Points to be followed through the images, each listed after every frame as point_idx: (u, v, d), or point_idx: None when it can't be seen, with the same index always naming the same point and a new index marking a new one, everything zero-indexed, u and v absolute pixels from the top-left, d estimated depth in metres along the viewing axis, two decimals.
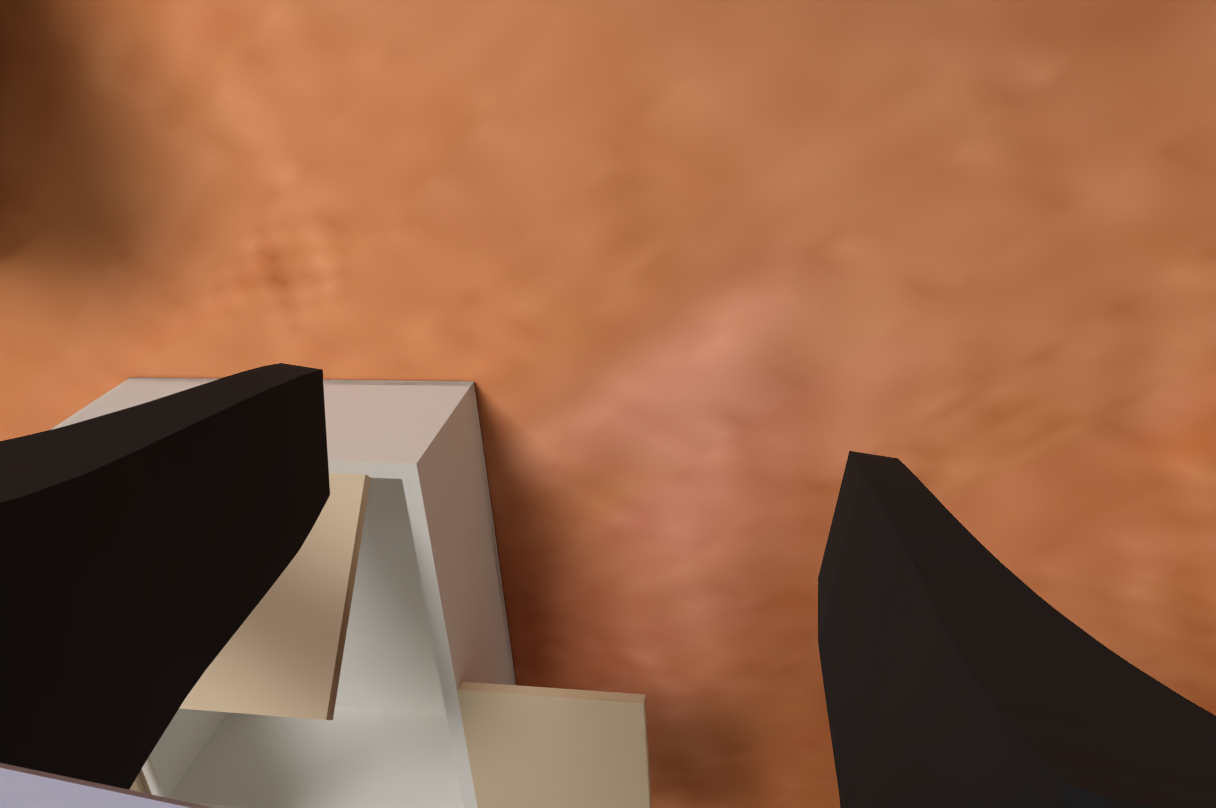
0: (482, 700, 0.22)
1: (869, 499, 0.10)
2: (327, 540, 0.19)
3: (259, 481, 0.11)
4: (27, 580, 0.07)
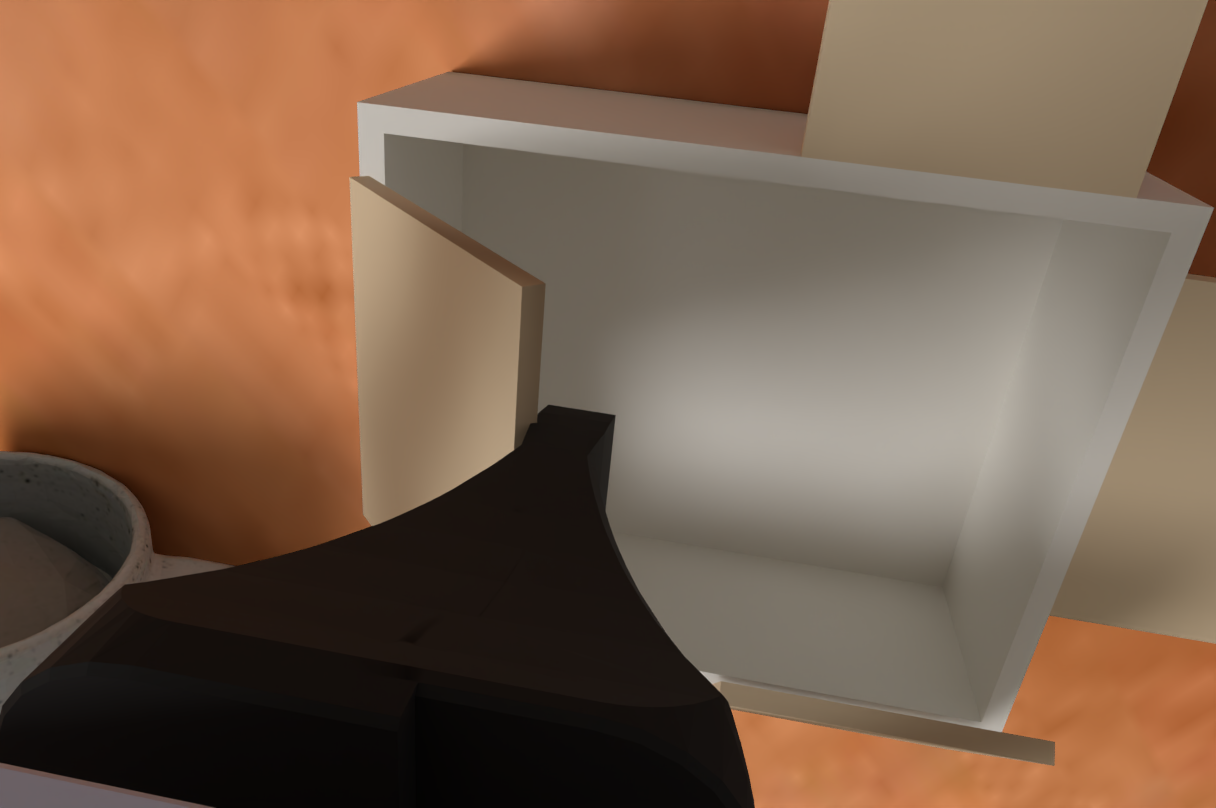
0: (830, 112, 0.12)
1: None
2: (390, 245, 0.12)
3: None
4: None
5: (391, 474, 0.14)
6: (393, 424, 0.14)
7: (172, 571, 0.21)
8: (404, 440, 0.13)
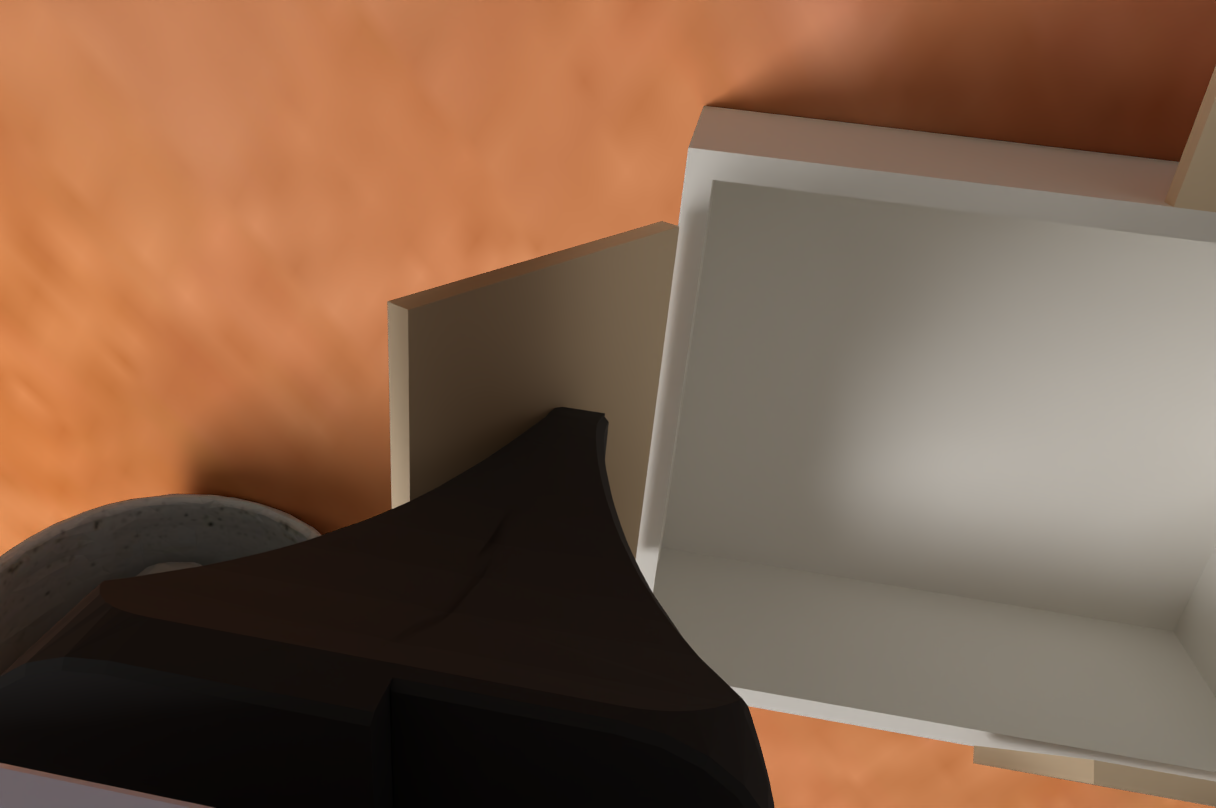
0: (1214, 161, 0.12)
1: None
2: None
3: None
4: None
5: None
6: None
7: None
8: None
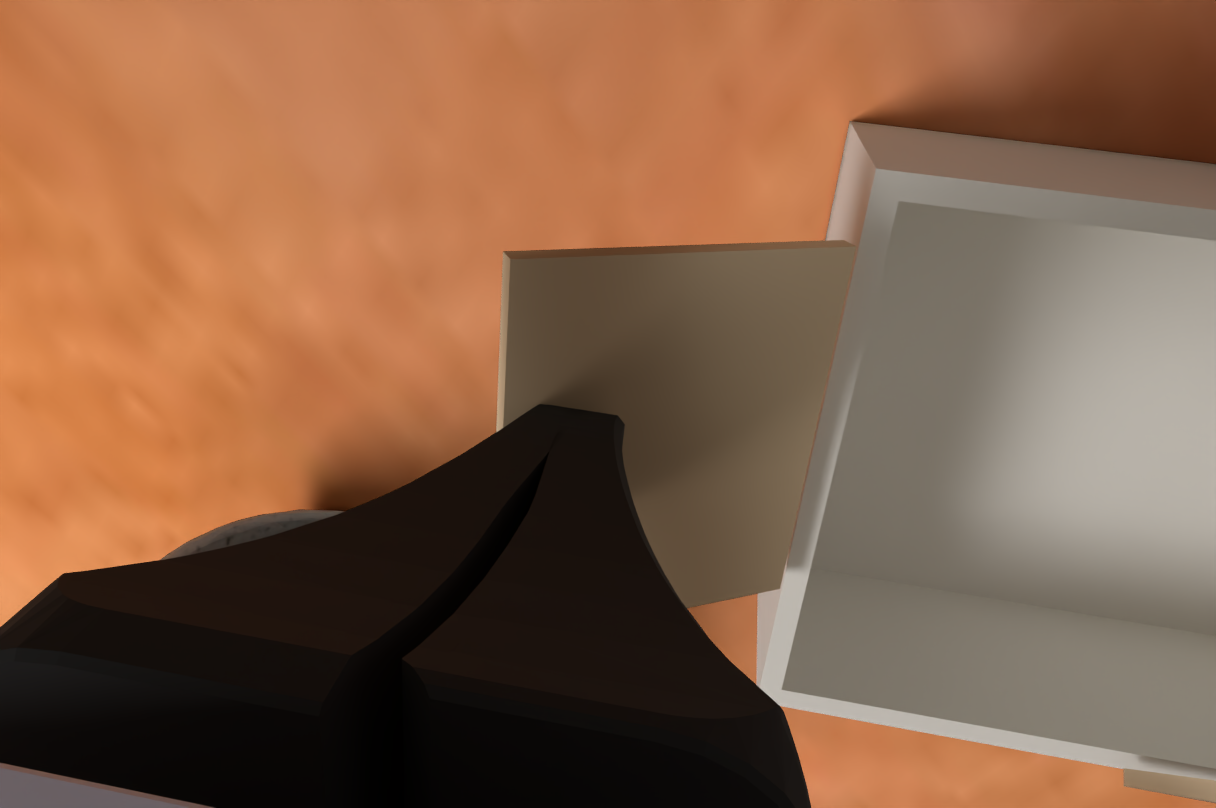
0: None
1: None
2: None
3: None
4: None
5: None
6: None
7: None
8: None
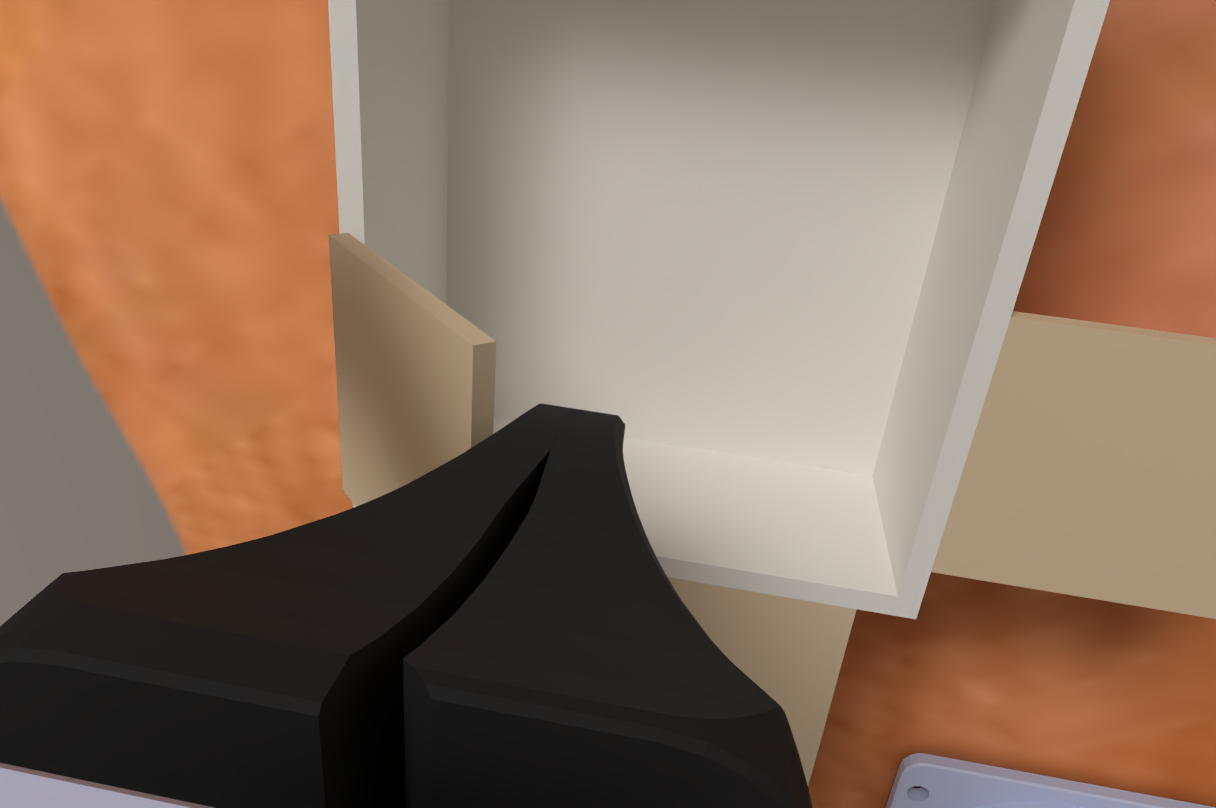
0: (1051, 341, 0.13)
1: None
2: None
3: None
4: None
5: None
6: None
7: None
8: None
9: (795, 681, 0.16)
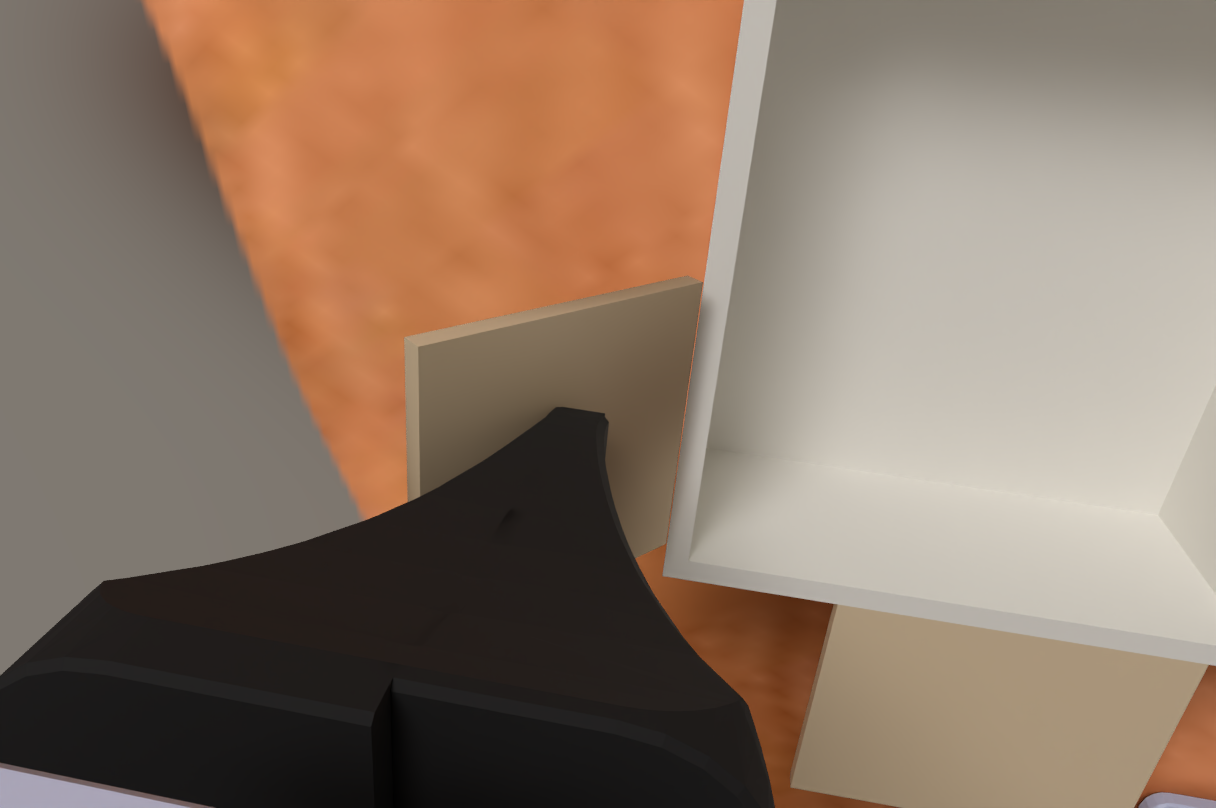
0: None
1: None
2: None
3: None
4: None
5: None
6: None
7: None
8: None
9: (1124, 736, 0.15)
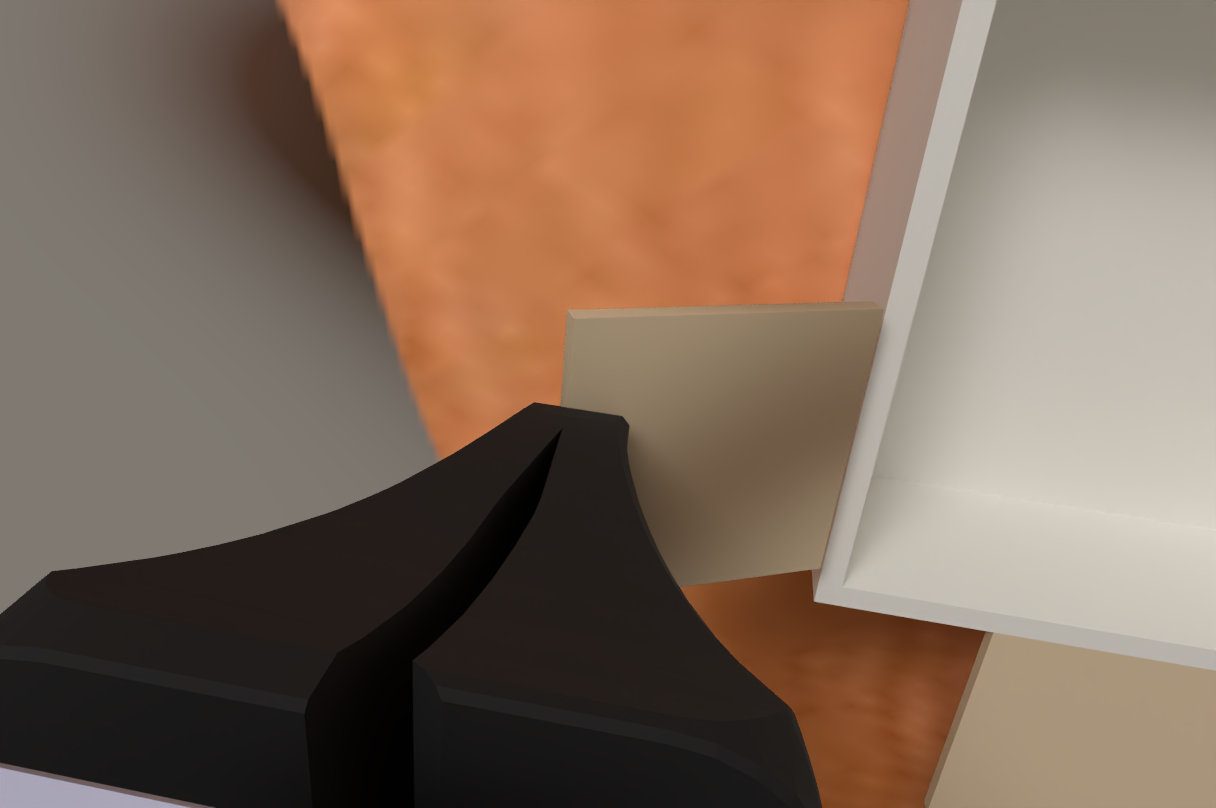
0: None
1: None
2: None
3: None
4: None
5: None
6: None
7: None
8: None
9: None
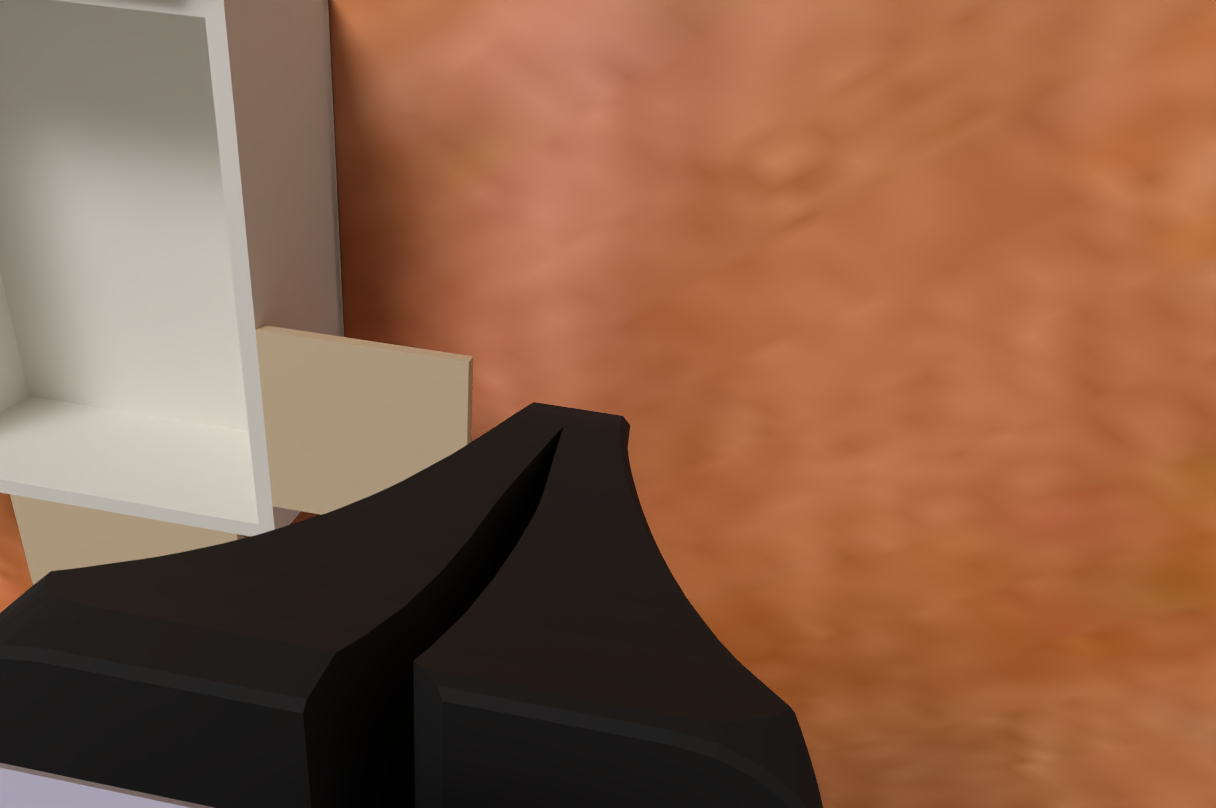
0: (284, 346, 0.19)
1: None
2: None
3: None
4: None
5: None
6: None
7: None
8: None
9: None
